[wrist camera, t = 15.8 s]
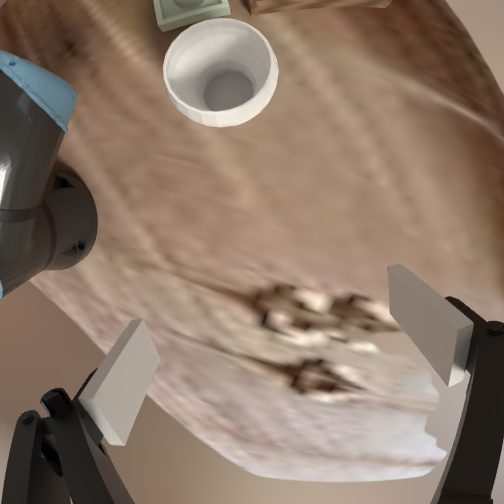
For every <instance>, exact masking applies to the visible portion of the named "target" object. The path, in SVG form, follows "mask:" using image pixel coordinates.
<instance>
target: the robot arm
mask: <svg viewBox="0 0 504 504" xmlns="http://www.w3.org/2000/svg"><path fill="white" fill-rule="evenodd" d="M76 101H77V94H76V91H75V89H74V87H73V86H72V85H71V84H70V83H68V82H67V81H65V80H63V79H62V78H60V77H59V76H57V75H55V74H53V73H52V72H50V71H48V70H46V69H44V68H42V67H40V66H38V65H36V64H34V63H32V62H30V61H28V60H25V59H23V58H20V57H18V56H15V55H13V54H11V53H9V52H6V51H3V50H0V299H1V298H2V297H4V296H5V295H7V294H8V293H9V292H11V291H12V290H14V289H15V288H17V287H18V286H20V285H21V284H23V283H24V282H26V281H27V280H29V279H30V278H32V277H34V276H35V275H37V274H38V273H40V272H41V271H45V270H63V269H67V268H70V267H72V266H74V265H76V264H77V263H79V262H80V261H82V260H83V259H84V258H85V257H86V256H87V255H88V254H89V252H90V251H91V249H92V247H93V245H94V242H95V239H96V235H97V226H98V220H97V212H96V207H95V203H94V201H93V198H92V196H91V194H90V192H89V190H88V189H87V187H86V186H85V185H84V183H83V182H82V181H81V180H80V179H78V178H77V177H76V176H74V175H72V174H70V173H67V172H63V171H55V172H51V171H52V168H53V165H54V162H55V159H56V156H57V153H58V151H59V148H60V145H61V143H62V140H63V138H64V135H65V133H67V131H68V128H67V126H68V123H69V120H70V118H71V115H72V112H73V110H74V107H75V105H76ZM387 268H388V283H389V303H390V314H391V315H392V316H393V318H394V319H395V320H396V321H397V322H398V324H399V325H400V326H401V327H402V329H403V330H404V331H405V332H406V333H407V335H408V336H409V337H410V338H411V340H412V341H413V342H414V343H415V345H416V346H417V347H418V348H419V350H420V351H421V352H422V354H423V355H424V356H425V357H426V359H427V360H428V361H429V363H430V364H431V365H432V367H433V368H434V369H435V370H436V372H437V373H438V374H439V376H440V377H441V378H442V380H443V381H444V382H445V384H446V385H447V386H448V387H450V386H452V385H454V384H457V383H459V382H461V381H463V379H464V375H465V370H467V371H468V372H469V373H470V374H471V376H470V380H469V384H468V388H467V391H466V399H465V403H464V408H463V412H462V415H461V419H460V423H459V427H458V430H457V433H456V437H455V440H454V443H453V447H452V450H451V453H450V456H449V459H448V461H447V464H446V467H445V470H444V472H443V475H442V477H441V480H440V482H439V485H438V487H437V490H436V492H435V494H434V497H433V499H432V501H431V503H430V504H493V499H491V492H492V489H493V485H494V481H495V477H496V473H497V469H498V464H499V460H500V455H501V450H502V444H503V438H504V323H502V322H499V321H488V322H486V321H485V320H484V319H483V318H482V317H480V316H479V315H478V314H477V313H475V312H474V311H473V310H471V309H470V308H469V307H468V306H467V305H466V306H465V304H464V303H463V302H461V301H460V300H459V299H456V298H454V297H451V296H448V297H445V298H443V297H442V296H441V295H440V294H438V293H437V292H436V291H435V290H434V289H432V288H431V287H430V286H428V285H427V284H426V283H425V282H423V281H422V280H421V279H420V278H418V277H417V276H416V275H414V274H413V273H412V272H410V271H409V270H408V269H407V268H405V267H404V266H403V265H401V264H397V265H393V266H389V267H387ZM160 360H161V359H160V357H159V355H158V352H157V350H156V348H155V346H154V343H153V341H152V339H151V336H150V334H149V331H148V329H147V327H146V324H145V322H144V319H138V320H132V321H131V322H130V323H129V325H128V326H127V327H126V329H125V330H124V332H123V333H122V334H121V336H120V337H119V339H118V340H117V342H116V343H115V344H114V346H113V347H112V349H111V350H110V352H109V353H108V354H107V356H106V358H105V359H104V360H103V362H102V363H101V365H100V366H99V368H97V369H95V370H94V371H93V372H92V373H91V374H90V375H89V376H88V378H87V379H86V382H84V384H83V385H82V387H81V388H80V390H79V391H78V393H77V394H76V396H75V397H74V399H73V400H72V401H71V399H70V398H69V396H68V395H67V393H66V392H65V390H64V389H63V388H55V389H52V390H50V391H48V392H47V393H46V394H44V396H43V397H42V398H41V402H40V403H41V405H42V406H43V407H44V409H45V410H46V412H47V413H48V414H49V416H50V417H46V418H41V417H40V415H39V414H38V412H37V411H35V410H29V411H27V412H24V413H23V414H22V415H21V416H20V417H19V418H18V421H17V424H16V427H15V431H14V436H13V440H12V444H11V448H10V453H9V458H8V463H7V468H6V474H5V480H4V487H3V494H2V503H1V504H71V502H70V496H71V499H72V502H73V504H135V503H134V502H133V500H132V498H131V496H130V495H129V493H128V491H127V489H126V488H125V486H124V484H123V482H122V481H121V479H120V477H119V475H118V473H117V471H116V469H115V467H114V465H113V463H112V461H111V459H110V457H109V455H108V453H107V451H106V449H105V447H104V445H103V444H102V443H101V440H102V438H103V436H104V437H105V438H106V439H107V441H108V442H109V443H110V445H123V446H124V445H125V444H126V441H127V439H128V436H129V434H130V431H131V429H132V426H133V424H134V421H135V419H136V417H137V414H138V412H139V409H140V407H141V405H142V402H143V399H144V397H145V395H146V393H147V390H148V388H149V386H150V383H151V381H152V379H153V376H154V374H155V372H156V369H157V367H158V365H159V362H160Z"/></svg>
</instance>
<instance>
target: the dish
mask: <svg viewBox="0 0 504 504" xmlns="http://www.w3.org/2000/svg"><path fill="white" fill-rule="evenodd" d="M153 2H154V7H155V13H156V18H157V24H158V27H159V28H160V30H161V31H162V32H166V31H169V30H173V29H176V28H179V27H182V26H186V25H189V24H193V23H196V22H200V21H204V20H208V19H212V18H216V17H220V16H225V15H230V14H231V13H230V7H229V3H228V0H205V1H204V2H203V3H202V4H200V5H199V6H197V7H194V8H189V9H184V8H180V7H178V6H177V5H176V4H175V2H174V0H153Z"/></svg>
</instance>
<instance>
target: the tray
mask: <svg viewBox="0 0 504 504" xmlns="http://www.w3.org/2000/svg"><path fill="white" fill-rule="evenodd" d="M391 1H392V0H247V3H248V7H249V10H250V13H251V16H253V15H259V14H266V13H273V12H280V11H288V10H298V9H310V8H326V7H379V8H386V7H387V6H388V5H389V4H390V2H391Z"/></svg>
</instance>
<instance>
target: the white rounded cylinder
mask: <svg viewBox="0 0 504 504" xmlns="http://www.w3.org/2000/svg"><path fill="white" fill-rule="evenodd" d="M204 1H205V0H174V2H175V4H176V5H177V6H178V7H180V8H184V9H189V8H194V7H197V6H199V5H200V4H202V3H203V2H204Z"/></svg>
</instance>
